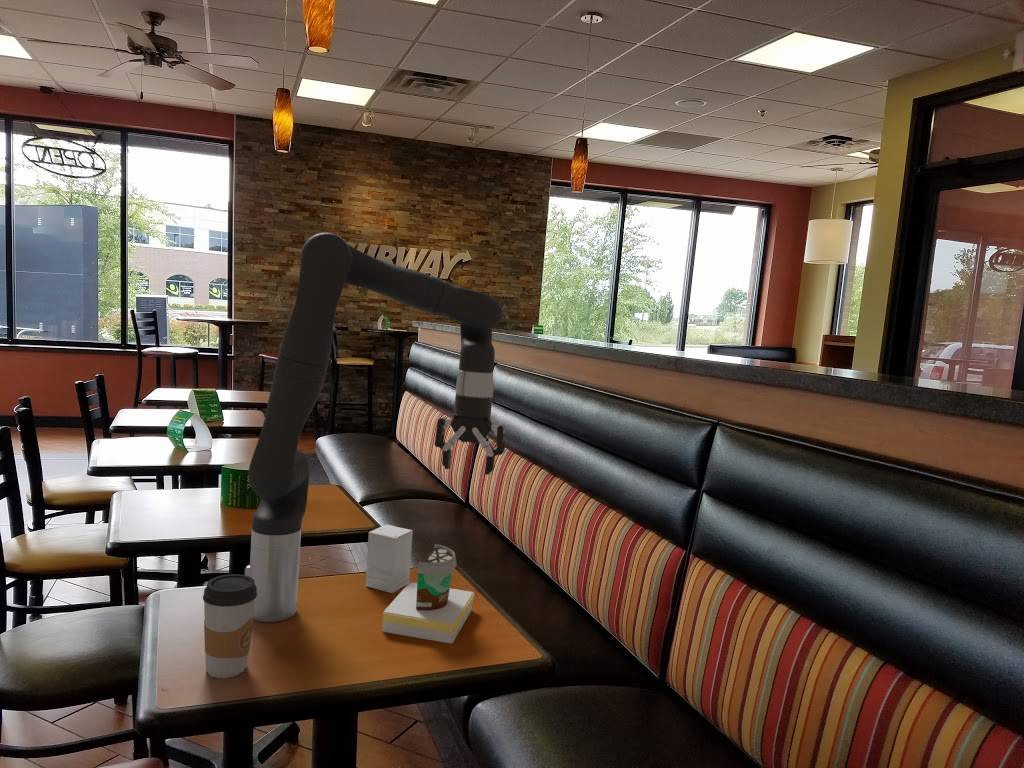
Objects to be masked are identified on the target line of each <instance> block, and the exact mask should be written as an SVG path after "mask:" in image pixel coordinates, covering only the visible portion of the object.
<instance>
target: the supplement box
mask: <svg viewBox="0 0 1024 768" xmlns="http://www.w3.org/2000/svg"><path fill="white" fill-rule="evenodd" d="M367 541H368V542H367V556H366V559H367V560H366V570H365V571H366V573H365V587H366V588H372V589H376V590H378V591H383V592H386V593H388V594H389V593H390V594H393V593H396V592H397V591H399V590H400V588H401V589H403V588H405V587H406V586H407V585H408V584H409V582H410V576H411V575H410V574H411V561H412V560H411V559H412V548H413V547H412V545H413V529H410V528H409V529H408V528H403V527H399V526H394V525H391V524H384V525H382V526H380V527H378V528H375V529H373V530H370V531H369V532H368V539H367Z"/></svg>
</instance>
